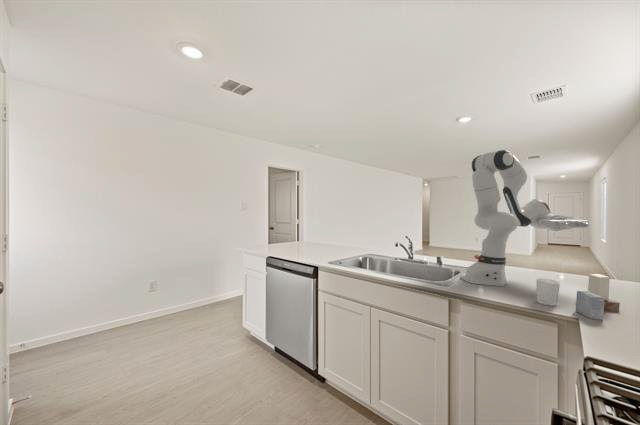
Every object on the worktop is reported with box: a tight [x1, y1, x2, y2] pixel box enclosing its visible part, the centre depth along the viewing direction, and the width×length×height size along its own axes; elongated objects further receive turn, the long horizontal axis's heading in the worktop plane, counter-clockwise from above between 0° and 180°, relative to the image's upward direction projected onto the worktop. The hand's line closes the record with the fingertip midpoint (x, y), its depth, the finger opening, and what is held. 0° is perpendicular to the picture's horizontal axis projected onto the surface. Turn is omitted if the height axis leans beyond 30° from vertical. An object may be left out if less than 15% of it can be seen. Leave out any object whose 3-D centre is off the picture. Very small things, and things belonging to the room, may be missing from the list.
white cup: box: [535, 277, 561, 307], centre depth 120 cm, size 8×8×10 cm
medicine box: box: [575, 290, 605, 321], centre depth 107 cm, size 8×4×9 cm, turn 168°
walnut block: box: [604, 298, 620, 312], centre depth 117 cm, size 9×9×4 cm
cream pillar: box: [587, 273, 611, 300], centre depth 117 cm, size 4×4×10 cm
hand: (577, 225), depth 135 cm, fingers open, 8 cm apart
